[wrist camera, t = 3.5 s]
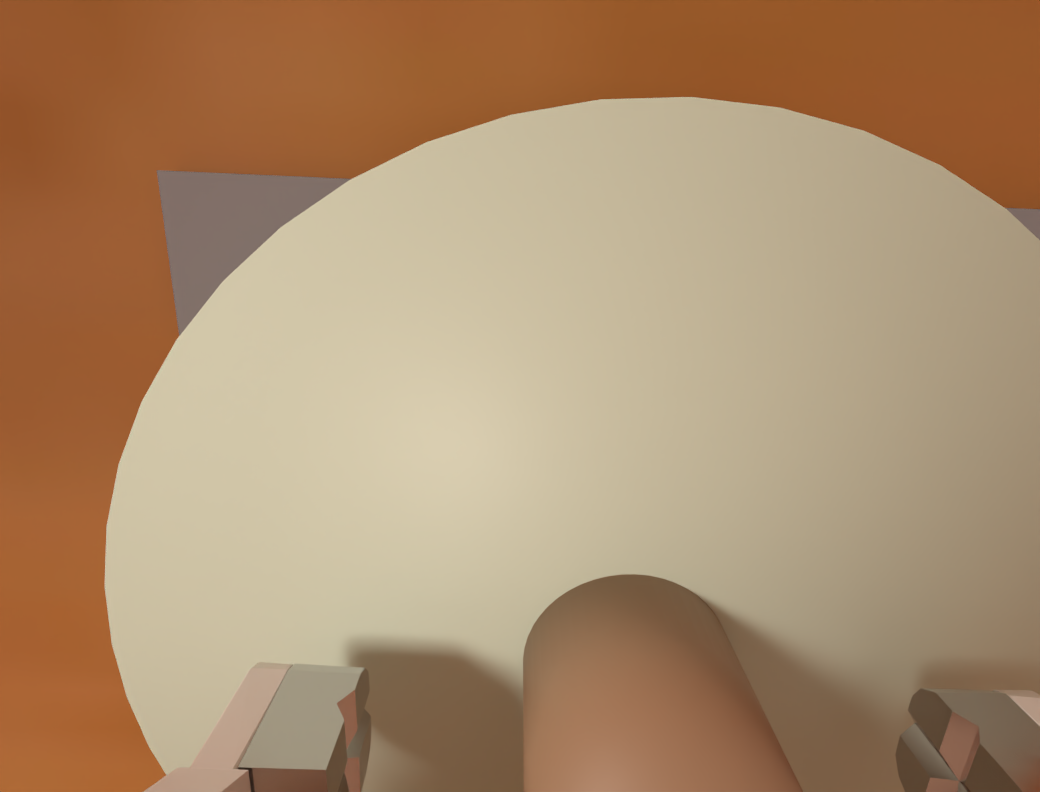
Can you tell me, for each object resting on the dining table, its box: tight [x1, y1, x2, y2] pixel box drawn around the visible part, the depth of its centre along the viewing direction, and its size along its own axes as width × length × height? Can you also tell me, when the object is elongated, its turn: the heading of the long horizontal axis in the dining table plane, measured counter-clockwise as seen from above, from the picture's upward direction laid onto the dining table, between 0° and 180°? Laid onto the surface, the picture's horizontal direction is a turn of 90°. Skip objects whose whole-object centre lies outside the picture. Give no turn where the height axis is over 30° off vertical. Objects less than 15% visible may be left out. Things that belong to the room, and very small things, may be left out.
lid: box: [105, 97, 1040, 792], centre depth 8 cm, size 16×16×5 cm
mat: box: [157, 170, 1040, 336], centre depth 10 cm, size 14×14×1 cm
